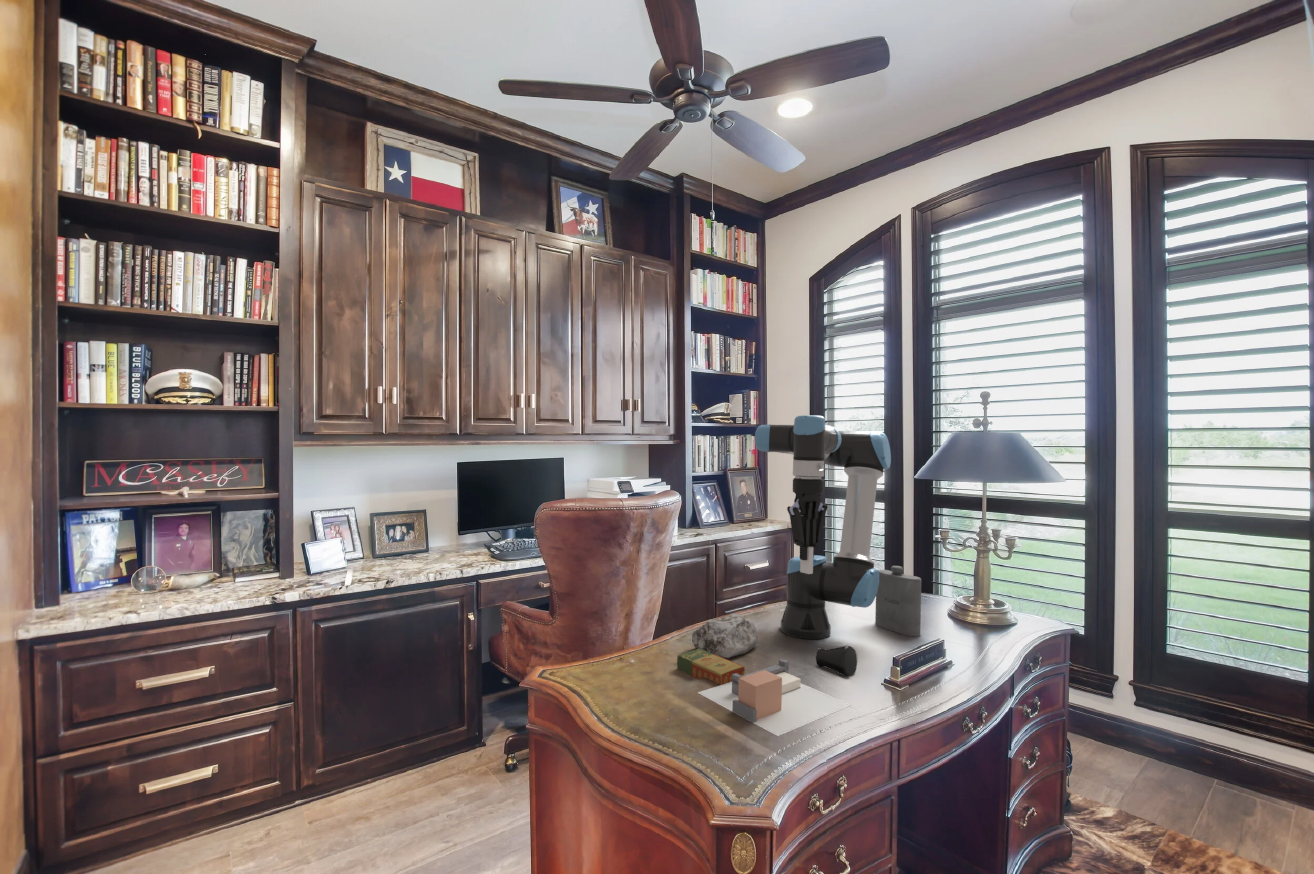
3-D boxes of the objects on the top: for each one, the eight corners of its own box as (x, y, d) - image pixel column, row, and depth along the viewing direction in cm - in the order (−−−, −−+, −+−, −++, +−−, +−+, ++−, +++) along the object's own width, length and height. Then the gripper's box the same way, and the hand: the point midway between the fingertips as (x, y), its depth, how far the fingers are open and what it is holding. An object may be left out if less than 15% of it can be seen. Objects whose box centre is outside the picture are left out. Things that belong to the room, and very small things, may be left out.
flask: (870, 624, 192) (871, 563, 192) (881, 621, 195) (882, 561, 195) (912, 638, 179) (913, 572, 179) (923, 634, 183) (924, 570, 183)
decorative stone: (733, 629, 179) (735, 600, 177) (768, 651, 170) (771, 620, 167) (686, 653, 167) (688, 621, 164) (721, 678, 157) (724, 644, 155)
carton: (720, 691, 139) (720, 673, 139) (675, 670, 151) (676, 653, 151) (744, 683, 144) (745, 665, 144) (699, 663, 157) (699, 646, 157)
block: (738, 711, 126) (738, 678, 126) (763, 701, 131) (764, 669, 131) (755, 720, 122) (755, 686, 122) (781, 710, 127) (782, 677, 127)
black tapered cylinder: (844, 679, 146) (813, 674, 152) (877, 670, 159) (847, 666, 164) (842, 647, 148) (812, 643, 154) (875, 640, 160) (846, 637, 166)
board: (697, 697, 135) (697, 674, 135) (769, 674, 149) (769, 652, 149) (777, 742, 115) (778, 714, 115) (851, 710, 130) (852, 685, 130)
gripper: (803, 479, 140) (801, 579, 140) (837, 478, 148) (835, 572, 147) (779, 477, 146) (777, 572, 146) (812, 476, 154) (811, 566, 153)
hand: (806, 572), depth 147 cm, fingers closed
